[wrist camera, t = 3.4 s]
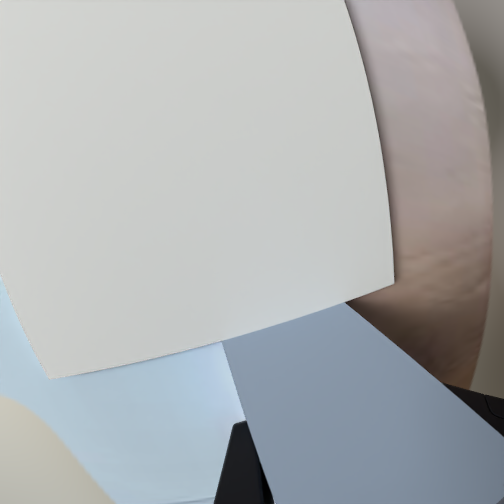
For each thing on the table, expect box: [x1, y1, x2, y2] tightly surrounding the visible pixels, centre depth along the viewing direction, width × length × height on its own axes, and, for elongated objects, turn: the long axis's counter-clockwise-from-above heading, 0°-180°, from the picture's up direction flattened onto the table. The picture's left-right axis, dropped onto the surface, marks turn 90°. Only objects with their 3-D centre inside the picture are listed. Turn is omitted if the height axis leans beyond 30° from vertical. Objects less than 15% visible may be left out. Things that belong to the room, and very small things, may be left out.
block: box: [222, 302, 504, 504], centre depth 7 cm, size 4×4×9 cm
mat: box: [0, 0, 394, 380], centre depth 7 cm, size 16×12×1 cm
